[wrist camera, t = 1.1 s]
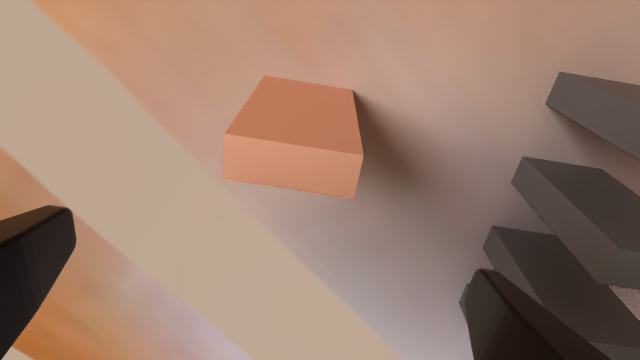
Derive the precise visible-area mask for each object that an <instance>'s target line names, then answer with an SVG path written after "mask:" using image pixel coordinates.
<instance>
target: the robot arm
mask: <svg viewBox="0 0 640 360" xmlns="http://www.w3.org/2000/svg"><path fill="white" fill-rule="evenodd" d="M75 246H76V233H75V226H74V220H73V214H72V212H71V210H70V209H69V208H67V207H61V206H54V205H47V206H44V207H41V208H38V209H35V210H31V211H28V212H25V213H22V214H19V215H16V216H13V217H10V218H7V219H4V220H1V221H0V360H2V358H3V356H4V355H5V354H6V353H7V351H8V350H9V349H10V347H11V346H12V345H13V343H14V342H15V341H16V339H17V338H18V337H19V335H20V334H21V333H22V331H23V330H24V329H25V327H26V326H27V325H28V323H29V322H30V320H31V319H32V318H33V316H34V315H35V313H36V312H37V311H38V309H39V307H40V306H41V304H42V303H43V301H44V300H45V298H46V296H47V295H48V293H49V291H50V289H51V288H52V286H53V284H54V283H55V281H56V279H57V278H58V276H59V274H60V273H61V271H62V269H63V268H64V266H65V264H66V262H67V261H68V259H69V257H70V256H71V254H72V252H73V251H74V248H75ZM464 307H465V312H466V318H467V324H468V329H469V335H470V340H471V346H472V352H473V357H474V360H611V359H610V358H609V357H608V356H606V355H605V354H604V353H602V352H601V351H600V350H599V349H597V348H596V347H595V346H593V345H592V344H591V343H590V342H588V341H587V340H586V339H584V338H583V337H582V336H581V335H579V334H578V333H577V332H575V331H574V330H573V329H572V328H570V327H569V326H568V325H566V324H565V323H564V322H563V321H561V320H560V319H559V318H557V317H556V316H555V315H554V314H552V313H551V312H550V311H548V310H547V309H546V308H545V307H543V306H542V305H541V304H539V303H538V302H537V301H536V300H534V299H533V298H532V297H530V296H529V295H528V294H527V293H525V292H524V291H523V290H521V289H520V288H519V287H518V286H516V285H515V284H514V283H512V282H511V281H510V280H509V279H507V278H506V277H505V276H503V275H502V274H501V273H500V272H498V271H496V270H490V269H483V268H480V269H478V270H477V271H476V272H475V274H474V276H473V278H472V280H471V283H470V285H469V287H468V289H467V292H466V294H465V298H464Z"/></svg>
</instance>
